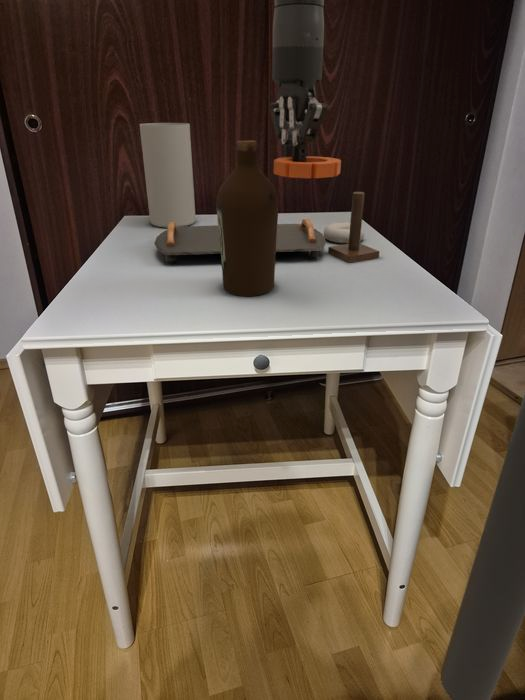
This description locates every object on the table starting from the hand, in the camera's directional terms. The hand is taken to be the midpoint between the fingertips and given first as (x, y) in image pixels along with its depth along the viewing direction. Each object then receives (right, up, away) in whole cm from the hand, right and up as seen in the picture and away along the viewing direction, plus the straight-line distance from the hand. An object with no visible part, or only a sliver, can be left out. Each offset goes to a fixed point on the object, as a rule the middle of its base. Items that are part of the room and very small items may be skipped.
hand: (294, 169), depth 79 cm
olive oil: (-8, -18, +11) cm, 22 cm away
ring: (+2, -2, -3) cm, 4 cm away
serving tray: (-10, -6, +33) cm, 35 cm away
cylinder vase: (-30, +6, +56) cm, 63 cm away
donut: (+15, -2, +40) cm, 43 cm away
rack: (+15, -9, +28) cm, 33 cm away
